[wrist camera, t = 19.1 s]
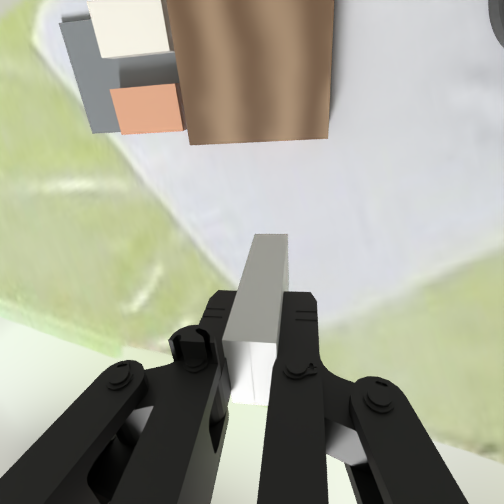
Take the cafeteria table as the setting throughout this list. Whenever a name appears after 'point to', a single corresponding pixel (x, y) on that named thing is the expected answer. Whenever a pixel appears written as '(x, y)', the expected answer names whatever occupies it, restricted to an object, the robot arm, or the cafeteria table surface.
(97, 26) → the cream tile
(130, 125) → the terracotta tile
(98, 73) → the mat
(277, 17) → the deck
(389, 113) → the cafeteria table surface
